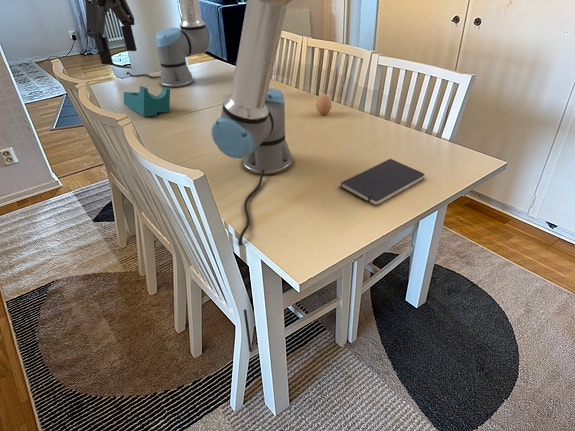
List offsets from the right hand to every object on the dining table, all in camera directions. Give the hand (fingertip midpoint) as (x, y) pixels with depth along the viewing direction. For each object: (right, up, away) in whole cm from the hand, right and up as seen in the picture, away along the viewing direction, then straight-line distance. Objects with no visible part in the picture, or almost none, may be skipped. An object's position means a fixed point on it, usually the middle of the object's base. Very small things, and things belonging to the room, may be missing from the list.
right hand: (120, 57), depth 110 cm
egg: (+60, -4, +47) cm, 76 cm away
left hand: (+36, +17, +60) cm, 72 cm away
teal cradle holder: (-11, +1, +57) cm, 58 cm away
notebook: (+73, -34, +5) cm, 80 cm away
